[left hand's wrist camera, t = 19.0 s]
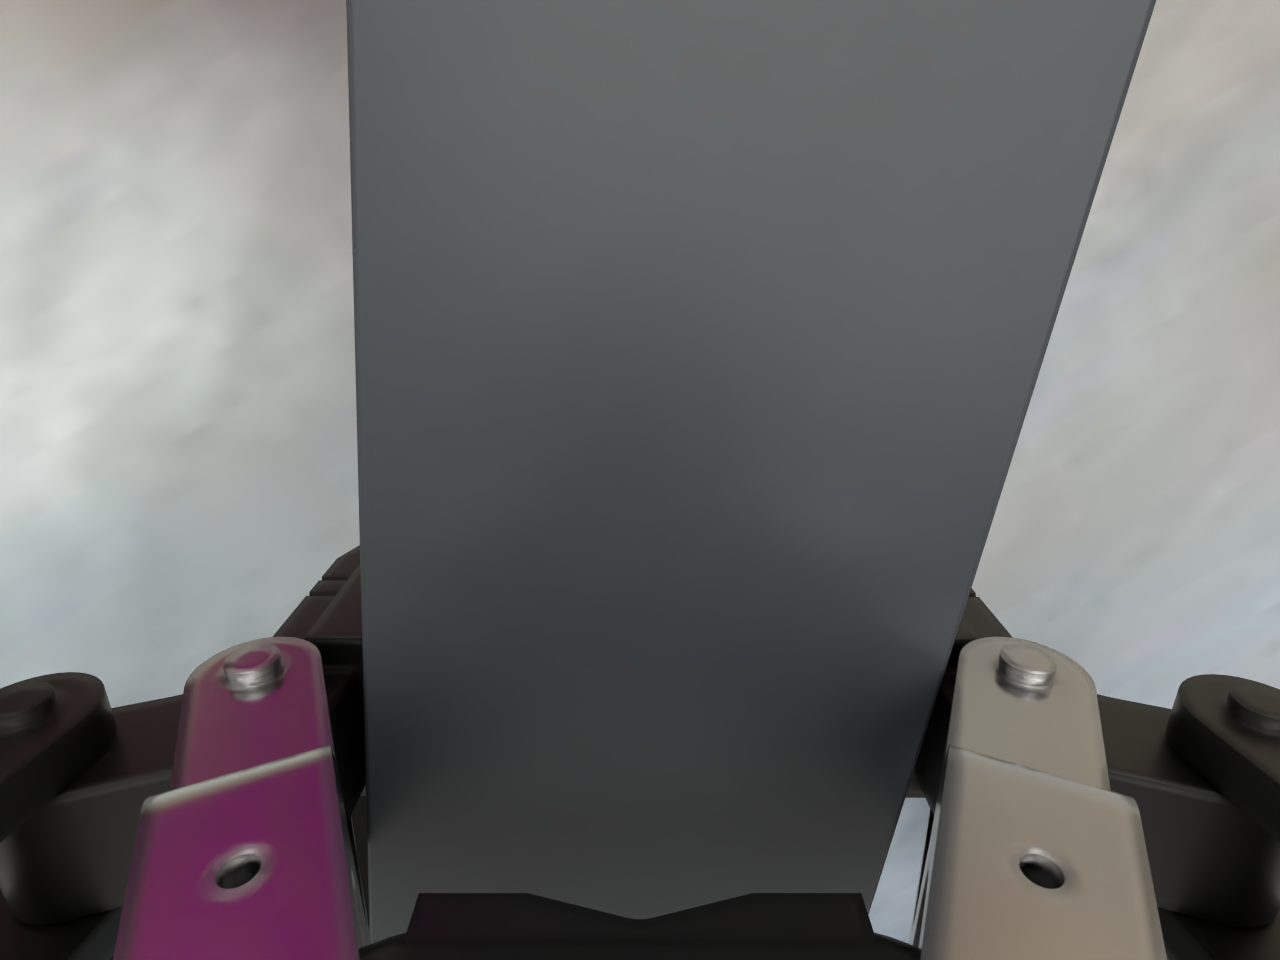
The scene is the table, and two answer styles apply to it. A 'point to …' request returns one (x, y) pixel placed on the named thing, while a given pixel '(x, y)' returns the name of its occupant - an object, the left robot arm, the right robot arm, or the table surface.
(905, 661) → the box
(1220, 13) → the table surface
